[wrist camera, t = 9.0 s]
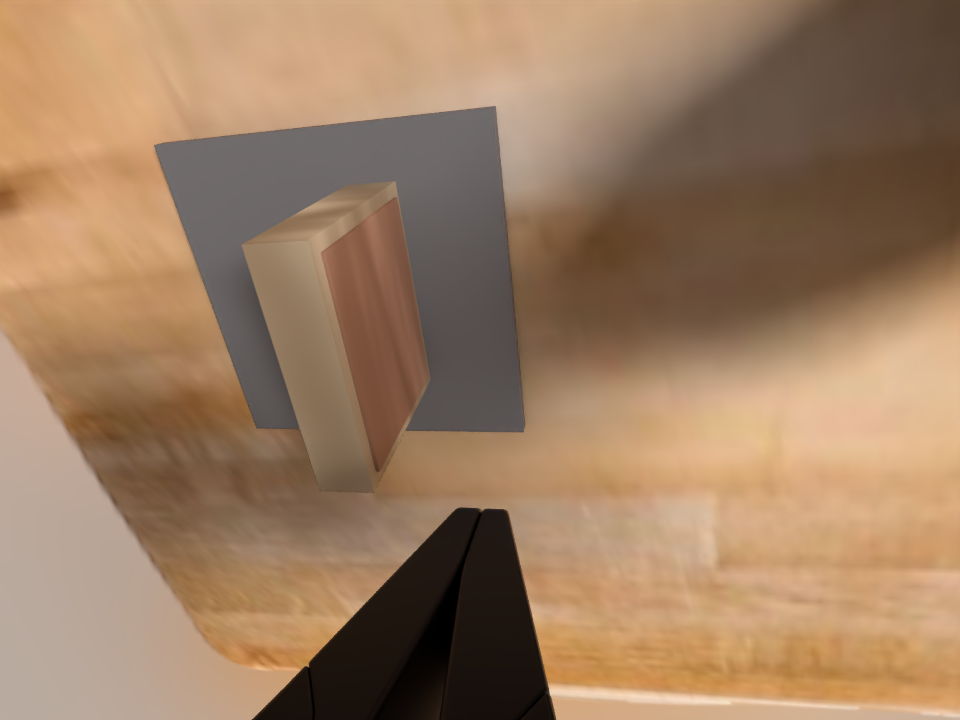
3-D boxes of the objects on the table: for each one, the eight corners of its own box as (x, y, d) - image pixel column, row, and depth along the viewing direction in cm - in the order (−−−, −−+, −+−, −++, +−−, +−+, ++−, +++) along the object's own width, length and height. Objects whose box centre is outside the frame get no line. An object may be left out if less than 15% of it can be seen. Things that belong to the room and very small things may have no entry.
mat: (495, 106, 16) (492, 108, 16) (525, 424, 21) (523, 432, 21) (164, 142, 19) (153, 145, 18) (262, 421, 24) (256, 428, 23)
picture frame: (398, 180, 17) (312, 240, 12) (433, 379, 20) (377, 492, 15) (346, 185, 18) (241, 244, 12) (389, 379, 21) (319, 490, 16)
